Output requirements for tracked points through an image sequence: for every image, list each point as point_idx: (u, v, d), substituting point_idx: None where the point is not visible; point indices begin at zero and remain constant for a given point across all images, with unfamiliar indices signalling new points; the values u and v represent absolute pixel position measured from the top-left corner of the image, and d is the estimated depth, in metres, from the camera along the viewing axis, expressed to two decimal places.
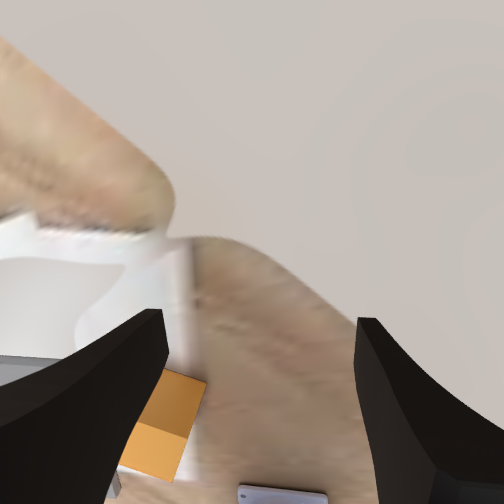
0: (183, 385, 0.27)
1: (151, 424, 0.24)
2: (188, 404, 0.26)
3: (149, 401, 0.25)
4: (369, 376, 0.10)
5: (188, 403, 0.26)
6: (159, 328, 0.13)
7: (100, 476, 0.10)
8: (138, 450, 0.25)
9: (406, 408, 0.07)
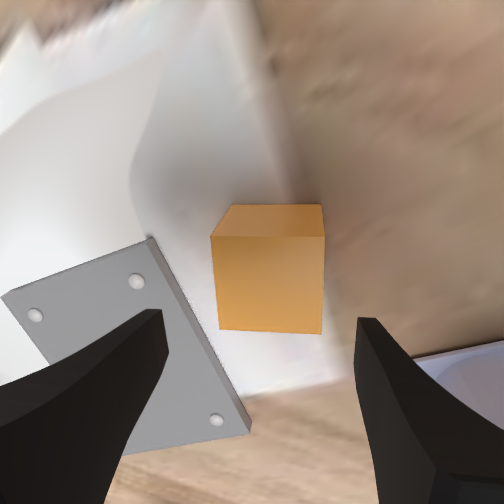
0: (290, 209, 0.19)
1: (264, 235, 0.16)
2: (307, 217, 0.17)
3: (251, 223, 0.17)
4: (369, 376, 0.10)
5: (306, 217, 0.18)
6: (159, 328, 0.13)
7: (100, 476, 0.10)
8: (258, 292, 0.17)
9: (406, 408, 0.07)
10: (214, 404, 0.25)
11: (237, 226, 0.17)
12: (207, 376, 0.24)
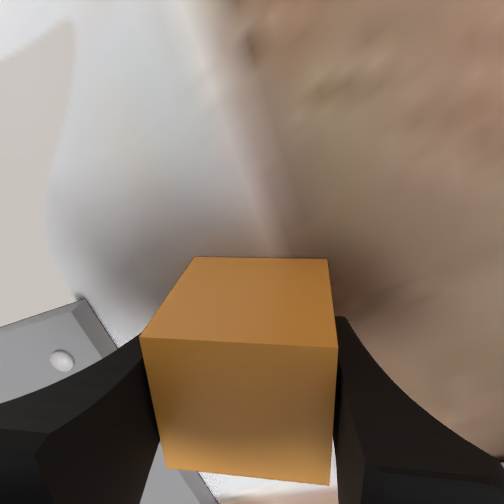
0: (280, 269, 0.12)
1: (232, 338, 0.09)
2: (305, 291, 0.11)
3: (215, 302, 0.10)
4: None
5: (304, 290, 0.11)
6: None
7: (136, 480, 0.09)
8: (224, 422, 0.10)
9: (355, 404, 0.08)
10: None
11: (190, 311, 0.10)
12: (169, 480, 0.18)
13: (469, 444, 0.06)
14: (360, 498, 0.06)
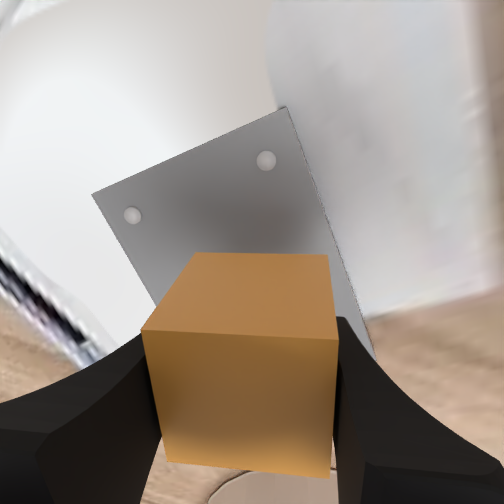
0: (281, 264, 0.12)
1: (233, 331, 0.09)
2: (306, 286, 0.11)
3: (216, 296, 0.11)
4: None
5: (305, 284, 0.11)
6: None
7: (136, 480, 0.09)
8: (225, 415, 0.10)
9: (355, 404, 0.08)
10: None
11: (191, 304, 0.10)
12: (335, 287, 0.21)
13: (469, 444, 0.06)
14: (360, 498, 0.06)
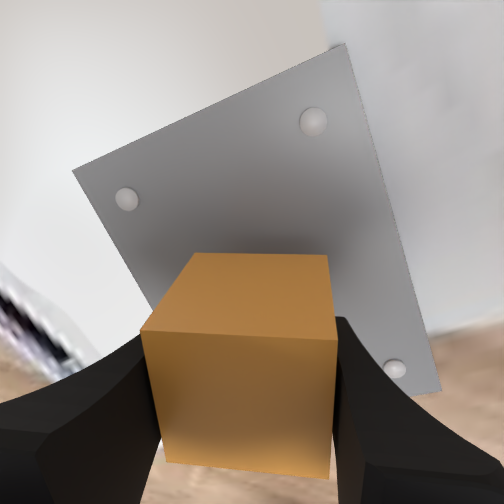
0: (280, 265, 0.12)
1: (232, 331, 0.09)
2: (305, 286, 0.11)
3: (215, 297, 0.11)
4: None
5: (305, 285, 0.11)
6: None
7: (136, 480, 0.09)
8: (224, 415, 0.10)
9: (355, 404, 0.08)
10: (396, 344, 0.17)
11: (191, 305, 0.10)
12: (396, 296, 0.16)
13: (469, 444, 0.06)
14: (360, 498, 0.06)
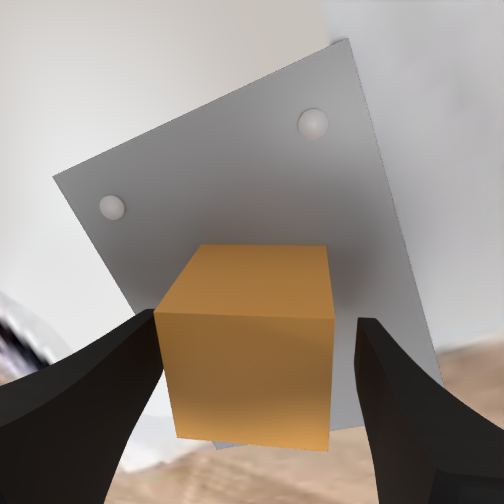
0: (282, 254, 0.13)
1: (238, 312, 0.10)
2: (305, 273, 0.12)
3: (221, 283, 0.11)
4: (369, 376, 0.10)
5: (305, 272, 0.12)
6: None
7: (100, 476, 0.10)
8: (231, 392, 0.11)
9: (406, 408, 0.07)
10: None
11: (199, 290, 0.11)
12: (402, 311, 0.14)
13: None
14: None
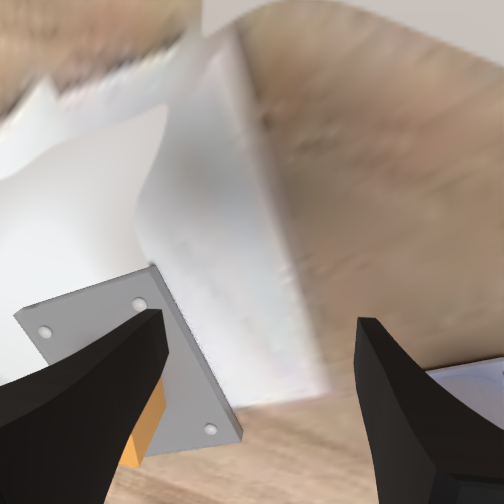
0: None
1: None
2: None
3: None
4: (369, 376, 0.10)
5: None
6: (160, 328, 0.13)
7: (100, 476, 0.10)
8: None
9: (406, 408, 0.07)
10: (209, 415, 0.28)
11: None
12: (202, 390, 0.27)
13: None
14: None
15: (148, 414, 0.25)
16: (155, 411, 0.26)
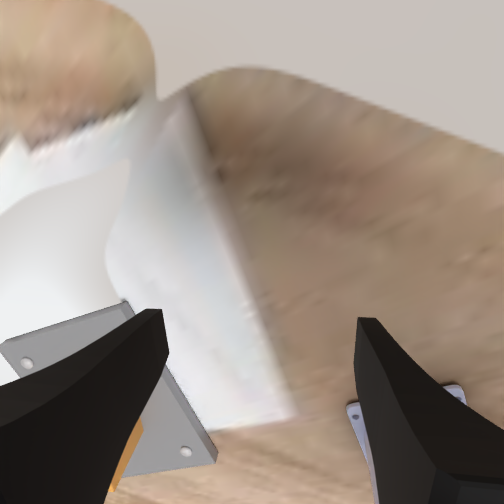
0: None
1: None
2: None
3: None
4: (369, 376, 0.10)
5: None
6: (159, 328, 0.13)
7: (100, 476, 0.10)
8: None
9: (406, 408, 0.07)
10: (183, 438, 0.29)
11: None
12: (176, 415, 0.28)
13: None
14: None
15: None
16: (131, 437, 0.27)
